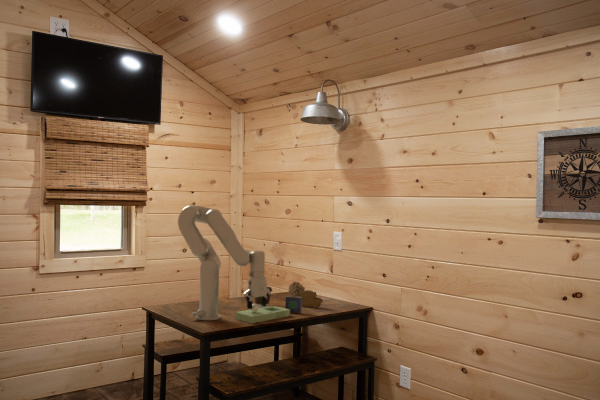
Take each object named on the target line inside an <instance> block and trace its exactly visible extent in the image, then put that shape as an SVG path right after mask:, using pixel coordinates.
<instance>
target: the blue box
mask: <svg viewBox="0 0 600 400" xmlns="http://www.w3.org/2000/svg"><path fill="white" fill-rule="evenodd" d="M284 304H285V305H284V308H285V309H289V310H290V314H302V308H303V306H302V297H297V296H296V297H295V294H293V295H291V294H290V295H286V296H285V303H284Z"/></svg>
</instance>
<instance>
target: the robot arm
mask: <svg viewBox="0 0 600 400" xmlns="http://www.w3.org/2000/svg"><path fill="white" fill-rule="evenodd" d="M196 222H197V223H203V224H207V226H208V227H209V228H210V229H211V230H212V232H213V233H214V234H215V236H216V237H217V239H218V240H219V241H220V243H221V245H222V246H223V247H224V248H225V250H226V252H227V253H228V255H230V257H231V259H232V260H233V261H234V262H235V264H236V265H238V266H240V267H245V266H247V265H249V267H250V269H249V273H248V276H249V277H248V281H247V282H248V284H247V290H245V291H244V292H243V296H244V299H245V301H246V307H247V310H250V309H252V304H253V301H252V300H253V299H254V298H255V297H261V296H262V299H261V306H266V299H267V297H268V295H269V292H270V289H268V288H267V287H268V284H267V283H268V282H267V278H266V276H265V267H266V266H265V261H266V260H265V259H266V257H265V255H266V254H265V252H264V251H263V250H247V249H245V248H244V247H243V246H242V244H241V243H240V241H239V239H238V238H237V236H236V233H235V231H234V230H233V228H232V227H231V226H230V225H229V223H228V222H227V220H226V219H225V217H224V216H223V214H222V212H221V211H220V210H219V209H217V208H210V207H205V206H200V205H195V204H191V205H187V206H185V207H183V209H181V211H180V213H179V215H178V218H177V225H178V229H179V231H180V233H181V235H182V237H183V239H184V241H185V242H186V244H187V246H188V247H189V250H190V252H191V253H192V254H193V256H195V257H197V258H198V260H199V262H200V263H201V264H200V268H199V272H200V273H199V274H200V276H199V280H200V282H199V283H200V284H199V285H200V286H199V308H198V309H197V311H193V312H191V314H190V316H191V317H195V318H196V320H199V321H216V320H217V321H218V320H220V319H221V318H222V316H221V314H220V313H219V295H220V287H219V286H220V269H221V265H222V263H221V259H220V257H219V256H218V254H217V252H216V250H215V249H214V247H213V246H212V244H211V242H210V241H209V240H208V239H207V238H206V237H203V235H202V233H201V232H200V230H199V228H198V227H197V224H196Z"/></svg>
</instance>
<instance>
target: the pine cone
mask: <svg viewBox="0 0 600 400" xmlns="http://www.w3.org/2000/svg"><path fill="white" fill-rule="evenodd" d="M305 289H306V288H305V286H303V284H302V283H301V282H299V281H293V282H292V283H290V285H288V293H289V294H290V295H291V296H292V295H293V294H295V297H300V296H299V293H300V291H305Z"/></svg>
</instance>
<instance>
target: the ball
mask: <svg viewBox="0 0 600 400" xmlns="http://www.w3.org/2000/svg"><path fill="white" fill-rule="evenodd" d="M258 309H259V307H258V305H257V304H256V303H252V309H249V310H250V311H251V312H253V313H255V312H257V311H258Z"/></svg>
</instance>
